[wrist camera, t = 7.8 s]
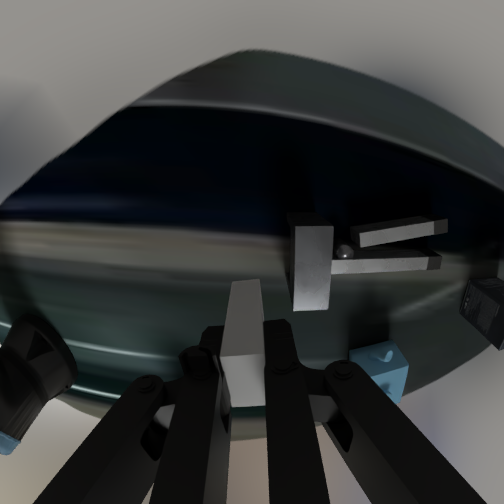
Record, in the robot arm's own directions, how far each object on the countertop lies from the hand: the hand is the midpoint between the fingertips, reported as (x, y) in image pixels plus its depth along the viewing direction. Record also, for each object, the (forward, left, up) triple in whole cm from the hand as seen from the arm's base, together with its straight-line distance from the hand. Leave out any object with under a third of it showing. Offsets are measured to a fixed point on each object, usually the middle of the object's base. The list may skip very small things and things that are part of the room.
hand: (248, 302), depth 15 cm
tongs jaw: (+16, +2, -13) cm, 21 cm away
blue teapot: (+15, -16, -14) cm, 26 cm away
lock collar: (+5, -1, -14) cm, 14 cm away
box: (+34, -9, -14) cm, 38 cm away
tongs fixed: (+13, -1, -14) cm, 19 cm away
